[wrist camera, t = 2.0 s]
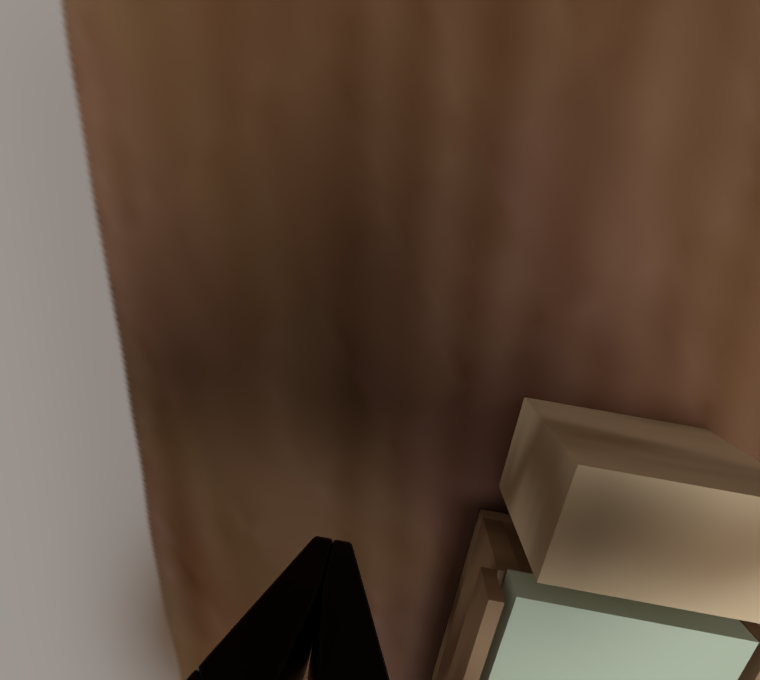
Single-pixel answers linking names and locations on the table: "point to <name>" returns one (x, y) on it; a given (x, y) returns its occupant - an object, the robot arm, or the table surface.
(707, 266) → the table surface
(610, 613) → the lid
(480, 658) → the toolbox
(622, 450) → the block
